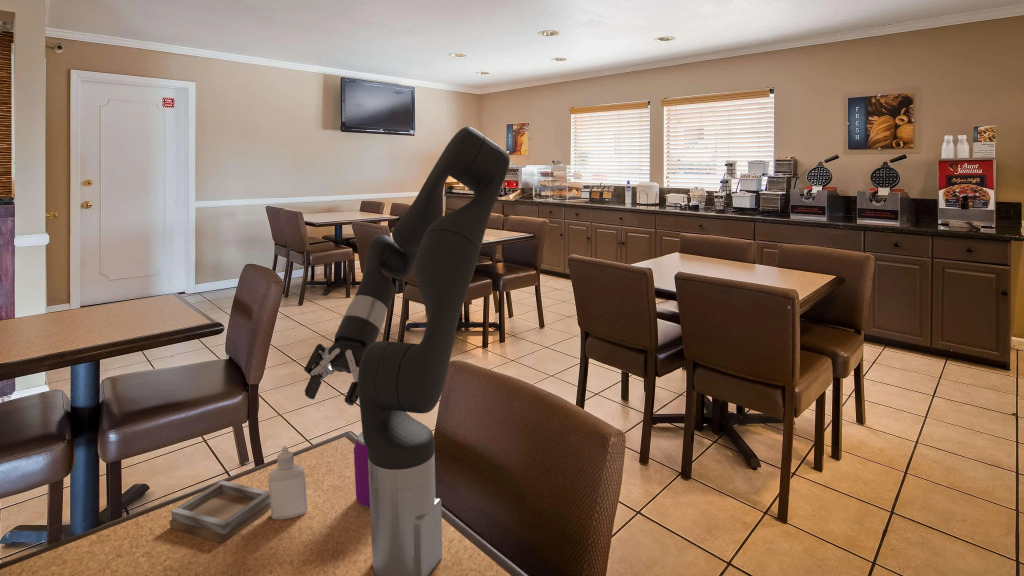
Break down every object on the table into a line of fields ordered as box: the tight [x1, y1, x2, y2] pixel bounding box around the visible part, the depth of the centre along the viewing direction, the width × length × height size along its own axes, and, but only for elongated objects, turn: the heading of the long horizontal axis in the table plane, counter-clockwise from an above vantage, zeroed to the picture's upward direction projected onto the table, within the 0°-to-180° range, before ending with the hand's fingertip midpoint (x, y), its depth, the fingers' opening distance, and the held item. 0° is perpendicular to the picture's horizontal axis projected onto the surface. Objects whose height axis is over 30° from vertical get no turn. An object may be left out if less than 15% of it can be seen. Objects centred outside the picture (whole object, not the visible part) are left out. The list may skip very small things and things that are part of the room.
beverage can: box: [353, 431, 370, 509], centre depth 98 cm, size 8×8×12 cm
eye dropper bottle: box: [268, 445, 308, 520], centre depth 93 cm, size 4×6×12 cm
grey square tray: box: [168, 479, 271, 544], centre depth 93 cm, size 11×11×3 cm
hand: (328, 400), depth 102 cm, fingers open, 8 cm apart
